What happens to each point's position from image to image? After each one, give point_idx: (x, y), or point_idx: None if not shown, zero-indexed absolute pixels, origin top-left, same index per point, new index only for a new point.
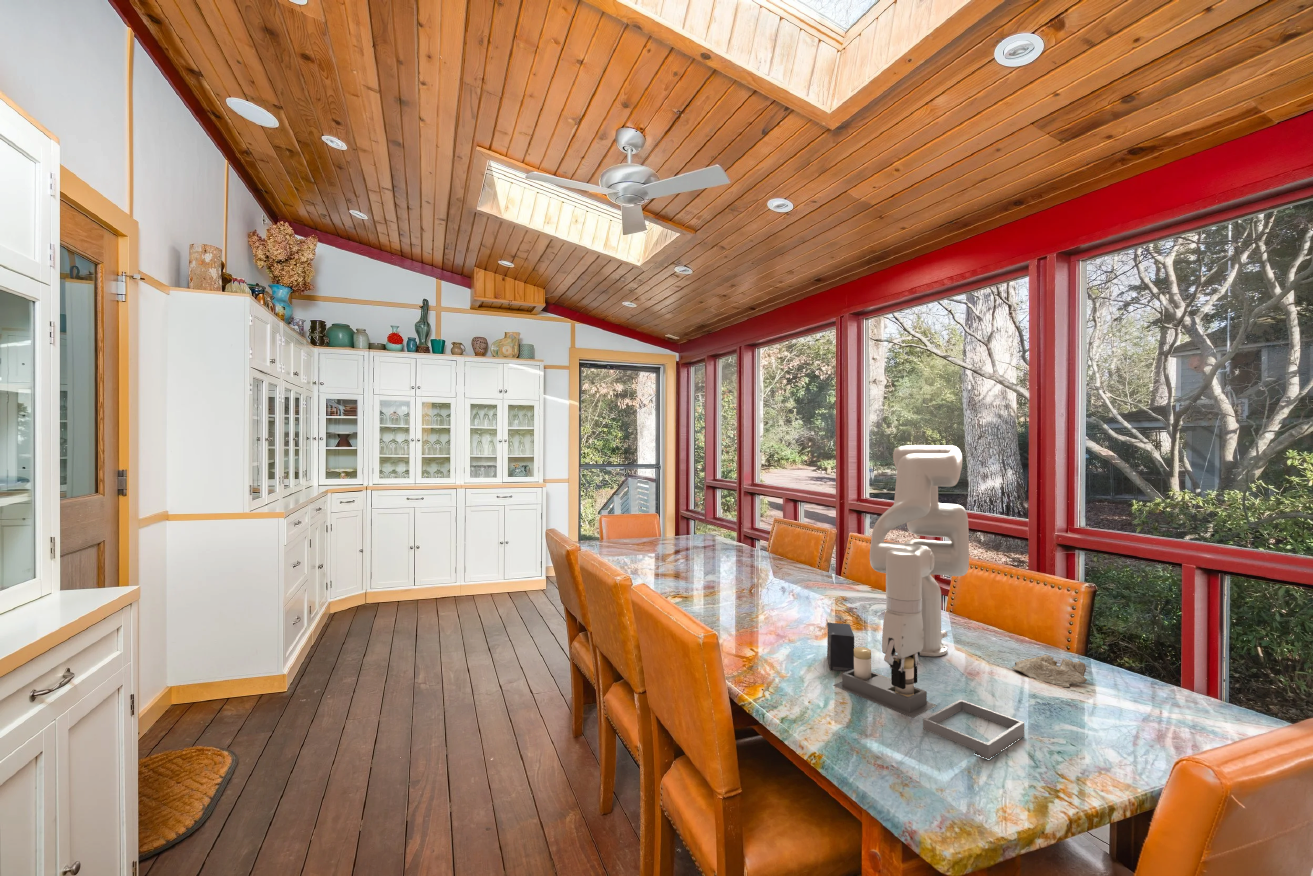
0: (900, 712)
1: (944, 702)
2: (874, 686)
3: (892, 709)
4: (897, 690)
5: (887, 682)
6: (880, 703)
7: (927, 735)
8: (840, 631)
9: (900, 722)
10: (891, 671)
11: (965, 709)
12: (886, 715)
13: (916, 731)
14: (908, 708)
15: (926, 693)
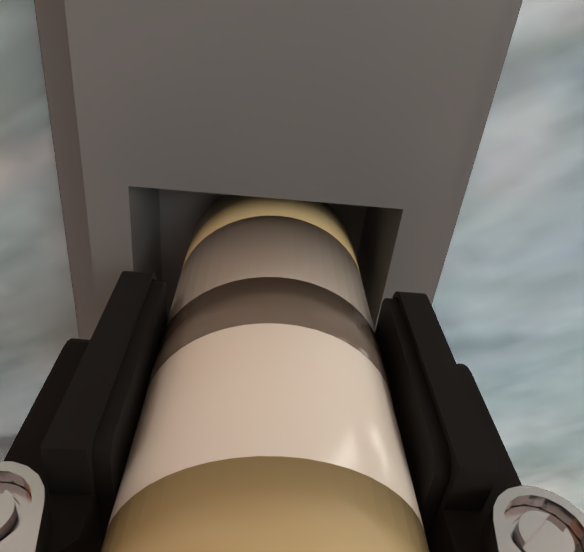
0: (76, 296)
1: (546, 355)
2: (70, 8)
3: (66, 234)
4: (179, 281)
5: (316, 87)
6: (71, 103)
7: None
8: None
9: (21, 306)
10: (65, 393)
11: None
12: (16, 195)
13: (14, 405)
14: None
15: None
